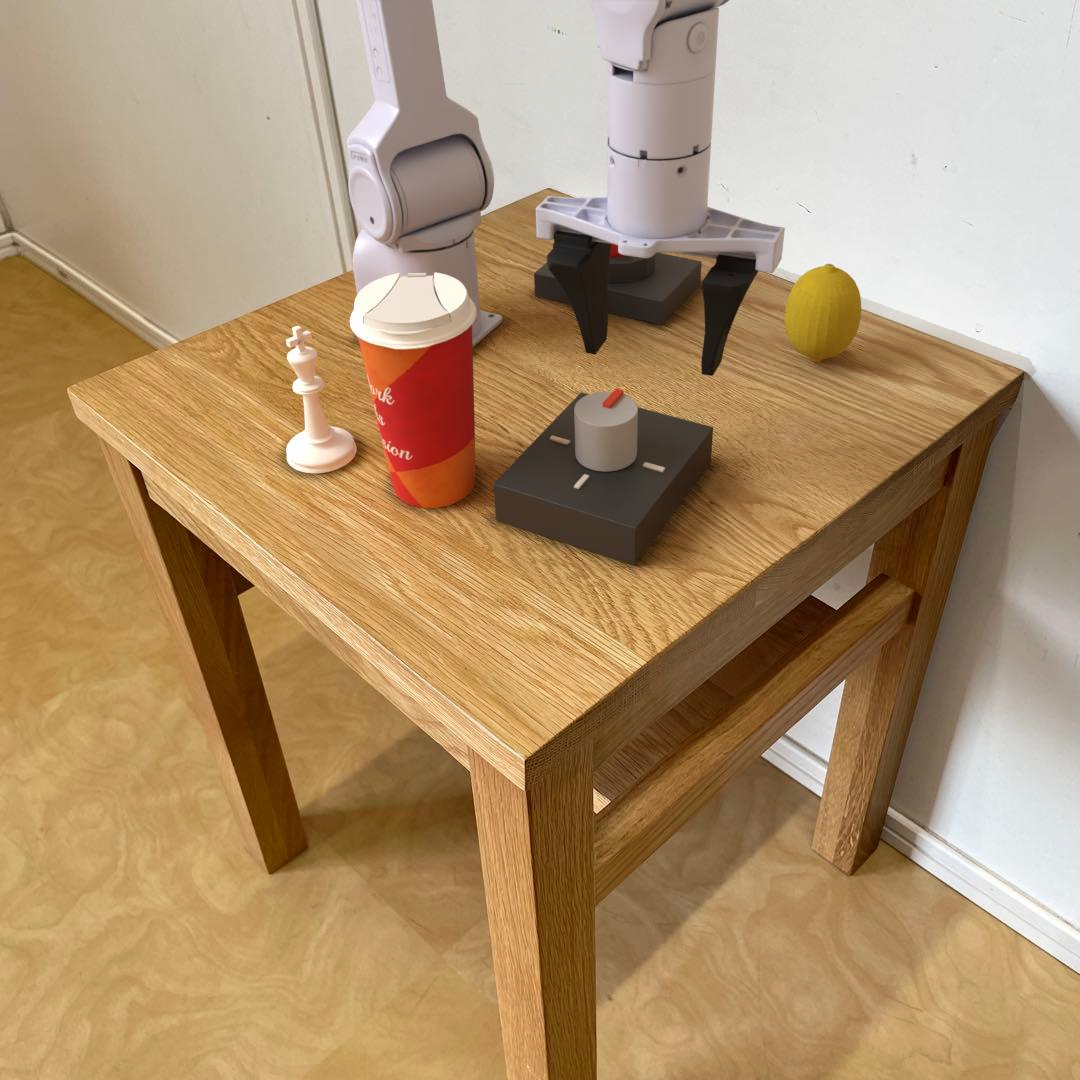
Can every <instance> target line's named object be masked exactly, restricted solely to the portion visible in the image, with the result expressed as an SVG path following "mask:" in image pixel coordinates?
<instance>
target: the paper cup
mask: <svg viewBox="0 0 1080 1080" xmlns="http://www.w3.org/2000/svg"><path fill="white" fill-rule="evenodd" d="M353 303H354V304H353V310H352V312H351V313H350V317H349V325H350V329H351V331H352V332H353V333H354V334H355V336H356V337H357V336H358V338H357V340H358V343H359V348H360V351H361V356H362V359H363V363H364V368H365V369H364V370H365V374H366V378H367V382H368V387H369V390H370V396H371V399H372V403H373V408H374V409H373V410H374V412H375V417H376V422H377V425H378V431H379V434H380V439H381V444H382V447H383V451H384V456H385V461H386V465H387V468H388V473H389V476H390V480H391V484H392V488H393V490H394V493H395V495H396V496H397V497H398V499H399V500H401V501H402V502H403V503H405V504H407V505H409V506H412V507H416V508H421V509H437V508H443V507H448V506H451V505H453V504H456V503H458V502H461V501H462V500H464V499H465V498H467V496H468V495H469V494H470V493H471V492H472V491H473V489H474V487H475V483H476V425H475V424H476V423H475V421H476V420H475V386H474V385H475V383H474V352H473V351H474V349H473V348H474V346H473V343H472V324H473V322H474V320H475V318H476V315H477V310H476V306H475V304H474V303H473V301H472V300H471V298H470V297H469V295H468V292H467V289H466V288H465V286H464V285H463V284H462V283H461V282H460V281H459V280H457V279H455V278H453V277H451V276H448V275H445V274H441V273H436V272H435V273H434V279H433V275H429V276H426V273H408V276H400V273H397V274H393V275H389V276H385V277H383V278H380V279H377V280H375V281H373V282H371V283H370V284H368V285H366V286H365V287H364V288H363V289H361V291H360V292H359V293H358V295H357V294H356V297H355V298H354V302H353Z"/></svg>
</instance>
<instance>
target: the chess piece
mask: <svg viewBox="0 0 1080 1080" xmlns="http://www.w3.org/2000/svg"><path fill="white" fill-rule="evenodd" d="M291 330H292V334H293V336H291V337H289V338H286V339H285V343H286V347H288V348H290V349H291V350H290V351H288V352H287V354H286V359H287V361H288V363H289V365H290V366H291V367H292V370H293V371H294V373H295V376H297V379H295V380H294V381H293V383H292V391H293V392H294V393H295V394H297V395H300V396H302V400H303V413H304V414H303V415H304V430H302V431H301V432H299V433H297V434H296V435H294V436H293V437H292V438H291V439H290V440H289V441H288V443H287V444H286V450H285V451H286V452H285V453H286V461H287V463H288V465H289V466H290V467H291V468H293V469H294V470H295V471H297V472H301V473H304V474H305V473H306V474H324V473H325V474H326V473H330V472H333V471H336V470H339V469H341V468H342V467H344V466H346V465H348V464H349V463H350V462H351V461H353V459H354V458H355V456H356V454H357V450H358V448H357V444H356V442H355V439H354V436H353V435H352V433H350V432H349V431H348V430H346V429H344V428H341V427H338V426H332V425H329V423H328V421H327V419H326V415H325V412H324V410H323V406H322V404H321V400H320V397H319V395H318V393H319V392H320V391H322V390H323V389H324V387H325V382H324V381H323V380H324V379H322V377H320V376H318V375H315V374H316V367H317V362H318V354H319V353H318V351H317V350H316V349H315V348H314V347H311V346H307V345H306V344H305V342H307V341H310V340H312V339H313V336H312V332H310V331H309V330H305V331H303V329H302V327H301V326H299V325H295V326H293V327H291Z"/></svg>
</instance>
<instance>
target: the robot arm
mask: <svg viewBox="0 0 1080 1080" xmlns="http://www.w3.org/2000/svg"><path fill="white" fill-rule="evenodd" d="M729 1H730V0H588V2H589V4H590V7H591V8H592V11H593V13H594V16H595V20H596V27H597V48H600V51H601V52H600V54H601V57H602V59H603V60H604V61H606V62H607V65H606V66H607V70H606V71H607V77H606V79H607V81H606V82H607V83H606V84H607V85H606V86H607V87H606V88H607V89H606V91H607V93H606V94H607V95H606V96H607V98H606V102H607V103H606V104H607V106H606V107H607V110H606V111H607V113H606V115H607V116H606V117H607V119H606V120H607V123H606V125H607V126H606V127H607V128H606V129H607V132H606V133H607V134H606V135H607V141H606V142H607V143H606V145H607V146H606V147H607V149H606V150H607V151H606V154H607V155H606V156H607V158H606V159H607V160H606V161H607V162H606V164H607V165H606V170H607V172H606V173H607V174H606V175H607V176H606V179H607V180H606V183H607V184H606V187H607V191H606V192H607V193H606V195H607V196H604V197H603V196H601V197H599V196H597V197H595V196H593V197H570V196H569V197H567V196H554V195H548V196H546V198H545V199H544V200H543V201H541V203H539V204H538V205H537V206H536V207H535V227H536V229H535V230H536V239H541V240H548V241H553V243H552V249H551V250H550V251H549V252H548V253H547V255H546V263H547V264H548V269H549V270H550V271H551V273H552V274H553V275H554V277H555V278H556V280H557V281H558V283H559V284H560V286H561V288H562V289H563V291H564V293H565V295H566V296H567V298H568V300H569V303H570V304H569V305H570V307H571V309H572V312H573V314H574V317H575V320H576V322H577V325H578V328H579V331H580V335H581V338H582V342H583V346H584V347H583V348H584V351H585V353H586V354H588V355H589V354H590V355H597V353H598V352H599V350H600V349H601V348H602V347H603V345H604V344H605V342H607V339H608V329H609V313H608V305H607V281H608V269H609V259H610V251H611V244H614V245H617V246H618V252H619V253H620V254H622V255H626V256H632V257H639V258H650V257H652V256H654V254H655V253H663V254H675V255H683V256H690V257H698V258H703V259H709V260H716V261H715V264H713V266H712V267H711V268H710V269H709V270H708V272H707V274H706V275H705V276H704V278H703V280H701V281H702V282H701V290H702V298H703V299H702V300H703V311H704V334H703V335H704V336H703V344H702V352H701V361H700V363H701V364H700V366H701V367H700V368H701V370H700V371H701V375H705V376H709V377H712V376H714V374H715V373H716V372H717V370H718V369H719V366H720V365H721V363H722V360H723V356H724V351H725V347H726V344H727V340H728V337H729V333H730V330H731V328H732V325H733V323H734V319H735V318H736V315H737V313H738V310H739V309H740V307H741V304H742V302H743V300H744V299H745V297H746V295H747V293H748V291H749V289H750V287H751V285H752V284H753V281H754V280H755V278H756V276H757V275H758V273H759V272H762V273H767V274H773V273H775V271H776V270H777V268H778V267H779V264H780V263H781V260H782V259H783V250H784V240H785V230H786V228H785V227H783V226H777V225H772V224H766V223H762V222H759V221H754V220H752V219H749V218H745V217H742V216H738V215H735V214H732V213H729V212H726V211H722V210H719V209H716V208H713V207H710V206H708V204H709V203H708V201H709V184H710V169H711V153H712V135H713V117H714V102H715V101H714V100H715V86H716V85H715V84H716V83H715V82H716V68H717V51H718V33H719V19H720V18H719V17H720V14H719V13H720V8H719V7H721V6H724V5H725V4H727V3H728V2H729ZM355 2H356V9H357V14H358V18H359V25H360V29H361V34H362V41H363V45H364V51H365V56H366V61H367V62H366V63H367V66H368V73H369V78H370V82H371V89H372V93H373V99H374V102H373V104H372V106H371V107H370V108H369V110H368V111H367V112H366V114H365V115H364V116H363V117H362V119H360V121H359V123H357V125H356V126H355V127H354V129H353V130H352V131H351V132H350V134H349V135H348V137H347V139H346V147H347V155H348V156H347V157H348V165H349V177H348V185H347V186H348V195H349V201H350V204H351V208H352V210H353V213H354V216H355V217H356V220H357V221H358V223H359V224H360V226H361V230H360V232H359V233H358V235H357V237H356V240H355V242H354V245H353V250H352V251H353V252H352V270H353V271H352V272H353V277H354V283H355V289H356V296H357V295H358V293H359V292H360V291H361V289H363V288H364V287H365V286H366V285H368V284H370V283H371V282H373V281H375V280H377V279H380V278H383V277H385V276H389V275H393V274H397V273H400V276H408V273H426V276H429V275H433V279H434V273H435V272H436V273H441V274H445V275H448V276H451V277H453V278H455V279H457V280H459V281H460V282H461V283H462V284H463V285H464V286H465V288H466V289H467V292H468V295H469V297H470V298H471V300H472V301H473V303H474V304H475V306H476V310H477V315H476V318H475V320H474V322H473V324H472V343H473V347H475V346H476V345H477V344H479V343H480V342H481V341H482V340H483V339H484V338H486V336H488V335H489V334H490V333H491V332H492V331H493V330H495V328H497V327H498V326H499V325H500V324H502V322H503V315H501V314H498V313H494V312H489V311H485V310H481V302H480V301H481V299H480V289H479V276H478V264H477V263H478V262H477V253H476V252H477V250H476V239H475V229H476V228H478V227H479V226H482V224H483V223H482V213H481V212H483V211H485V210H486V209H487V208H489V206H490V204H491V202H492V200H493V195H494V189H495V173H494V168H493V164H492V160H491V157H490V155H489V153H488V151H487V149H486V148H485V144H484V141H483V137H482V134H481V130H480V123H479V118H478V117H477V115H476V114H474V113H473V112H472V111H471V110H469V109H468V108H467V107H465V106H464V105H462V104H460V103H458V102H456V101H455V100H453V99H451V98H450V97H448V96H447V91H446V83H445V76H444V69H443V63H442V57H441V56H442V55H441V49H440V44H439V38H438V37H439V36H438V30H437V24H436V17H435V11H434V4H433V0H355ZM356 337H357V339H358V336H357V335H356Z"/></svg>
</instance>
